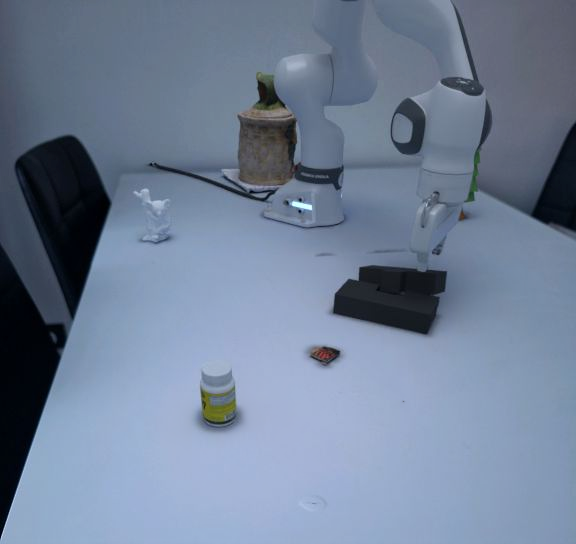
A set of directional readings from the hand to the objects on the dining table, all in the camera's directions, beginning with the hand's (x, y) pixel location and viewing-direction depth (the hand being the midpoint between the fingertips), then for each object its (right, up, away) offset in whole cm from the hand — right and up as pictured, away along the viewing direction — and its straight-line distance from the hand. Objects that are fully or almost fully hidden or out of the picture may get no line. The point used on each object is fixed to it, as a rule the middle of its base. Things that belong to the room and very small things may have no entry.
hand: (429, 261), depth 100 cm
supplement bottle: (-36, -28, -26) cm, 52 cm away
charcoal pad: (-8, -10, +1) cm, 13 cm away
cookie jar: (-34, +45, +79) cm, 97 cm away
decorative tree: (+21, +25, +53) cm, 62 cm away
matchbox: (-21, -18, -11) cm, 30 cm away
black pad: (-5, -4, +5) cm, 8 cm away
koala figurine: (-59, +13, +31) cm, 68 cm away
